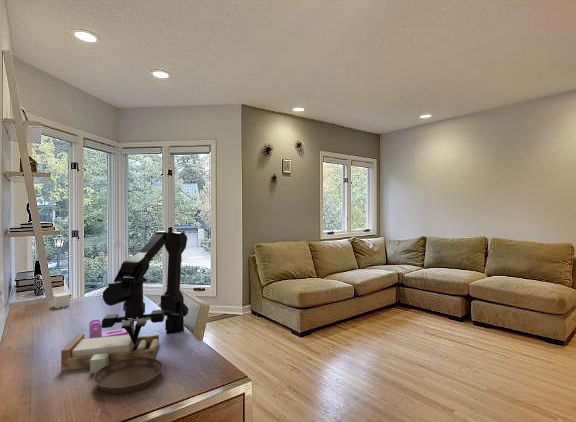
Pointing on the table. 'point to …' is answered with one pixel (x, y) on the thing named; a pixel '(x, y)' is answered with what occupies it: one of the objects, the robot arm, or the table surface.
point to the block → (98, 362)
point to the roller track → (84, 361)
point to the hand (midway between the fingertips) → (134, 343)
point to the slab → (102, 346)
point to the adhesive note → (61, 300)
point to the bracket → (96, 330)
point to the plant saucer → (128, 374)
